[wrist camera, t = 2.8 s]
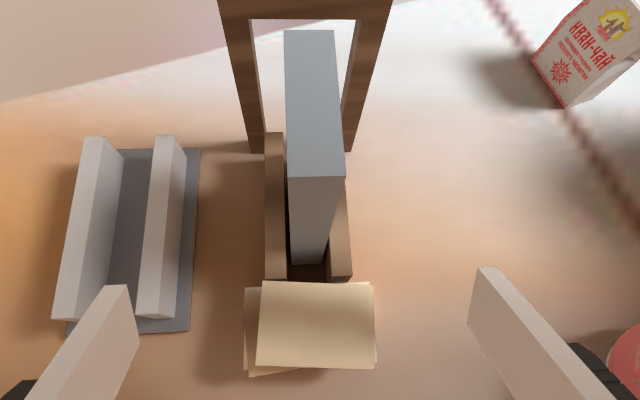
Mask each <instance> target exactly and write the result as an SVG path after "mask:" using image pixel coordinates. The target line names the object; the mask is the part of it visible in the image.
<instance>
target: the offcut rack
mask: <svg viewBox="0 0 640 400" xmlns="http://www.w3.org/2000/svg"><path fill="white" fill-rule="evenodd" d="M217 2H218V7H219V12H220V16H221V20H222V25H223V29H224V33H225V38H226V42H227V47H228V52H229V56H230V60H231V65H232V69H233V74H234V78H235V83H236V87H237V92H238V96H239V100H240V105H241V109H242V114H243V118H244V123H245V127H246V132H247V136H248V140H249V145H250V149H251V153H265V280H266V281H262V287H245V293H244V301H243V302H242V303H243V315H244V358H243V370H248V372H249V378H251V377H256V376H262V375H268V374H273V373H279V372H285V371H290V370H296V369H302V368H307V367H312V368H342V369H372V370H375V362H377V352H376V342H375V332H374V291H373V285H370V282H353V283H347V282H348V281H349V279H350V278H351V277H352V275H353V273H352V261H351V249H350V237H349V226H348V214H347V202H346V190H345V182H344V185H343V189H342V192H341V195H340V199H339V202H338V206H337V209H336V213H335V216H334V220H333V223H332V226H331V230H330V233H329V237H328V240H327V244H326V247H325V264H326V281H327V283H308V282H287V246H286V204H285V162H284V144H283V132H266V126H265V118H264V111H263V104H262V96H261V89H260V81H259V74H258V66H257V59H256V52H255V44H254V37H253V30H252V23H251V19H348V20H356V22H355V28H354V33H353V39H352V44H351V50H350V55H349V61H348V66H347V72H346V77H345V83H344V88H343V94H342V99H341V104H340V109H341V121H342V132H343V144H344V152H347V151H351V149H352V145H353V142H354V138H355V135H356V131H357V128H358V124H359V120H360V117H361V113H362V110H363V106H364V102H365V99H366V95H367V92H368V88H369V84H370V81H371V77H372V74H373V70H374V66H375V63H376V59H377V56H378V52H379V48H380V45H381V41H382V38H383V34H384V31H385V27H386V23H387V20H388V16H389V13H390V9H391V5H392V2H393V0H217Z"/></svg>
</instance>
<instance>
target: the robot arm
mask: <svg viewBox="0 0 640 400" xmlns="http://www.w3.org/2000/svg"><path fill="white" fill-rule="evenodd" d="M467 324H468V326H469V328H470V329H471V331H472V333H473V334H474V336H475V337H476V339H477V341H478V342H479V344H480V345H481V347H482V349H483V350H484V352H485V353H486V355H487V357H488V358H489V360H490V361H491V363H492V365H493V366H494V368H495V369H496V371H497V373H498V374H499V376H500V377H501V379H502V381H503V382H504V384H505V385H506V387H507V389H508V390H509V392H510V393H511V395H512V397H513V398H514V400H638V399H637V398H636V397H635V396H634V395H633V394H632V393H631V391H630V390H629V389H628V388H627V387H626V386H625V385H624V384H621V383H620V380H619V379H618V378H617V377H616V376H615V375H614V374H613V373H612V372H610V371H609V369H608V367H607V366H606V365H605V364H604V363H603V362H602V361H601V360H600V359H599V358H598V357H597V356H596V355H595V354H593V353H592V352H590V351H589V350H587V349H586V348H584V347H583V346H581V345H580V344H578V343H565V342H564V340H563V339H562V338H561V337H560V336H559V335H558V334H557V333H556V332H555V330H554V329H553V328H552V327H551V326H550V325H549V324H548V323H547V322H546V320H545V319H544V318H543V317H542V316H541V315H540V314H539V313H538V312H537V310H536V309H535V308H534V307H533V306H532V305H531V304H530V303H529V302H528V300H527V299H526V298H525V297H524V296H523V295H522V294H521V293H520V292H519V290H518V289H517V288H516V287H515V286H514V285H513V284H512V283H511V282H510V280H509V279H508V278H507V277H506V276H505V275H504V274H503V273H502V272H501V271H500V269H499V268H498V267H497V266H492V267H478V268H477V273H476V278H475V283H474V289H473V294H472V299H471V304H470V309H469V314H468V319H467ZM140 343H141V342H140V338H139V334H138V330H137V325H136V321H135V317H134V313H133V309H132V305H131V301H130V297H129V292H128V288H127V284H123V285H104V287H103V288H102V290H101V291H100V292H99V294H98V295H97V297H96V298H95V300H94V301H93V302H92V304H91V305H90V307H89V308H88V309H87V311H86V312H85V314H84V315H83V317H82V318H81V319H80V321H79V322H78V324H77V325H76V327H75V328H74V329H73V331H72V332H71V334H70V335H69V336H68V338H67V339H66V341H65V342H64V344H63V345H62V346H61V348H60V349H59V351H58V352H57V353H56V355H55V356H54V358H53V359H52V361H51V362H50V363H49V365H48V366H47V368H46V369H45V371H44V372H43V373H42V375H41V376H40V378H39V379H37V380H22V381H21V382H20V383H19V384H17V385H16V386H15V387H14V388H13V389H11V390H10V391H9V392H8V393H6V394H5V395H4V396H3V397H2V398H1V399H0V400H115V398H116V396H117V394H118V391H119V389H120V387H121V385H122V383H123V381H124V378H125V376H126V374H127V372H128V370H129V367H130V365H131V363H132V361H133V359H134V357H135V354H136V352H137V350H138V348H139V346H140Z"/></svg>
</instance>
